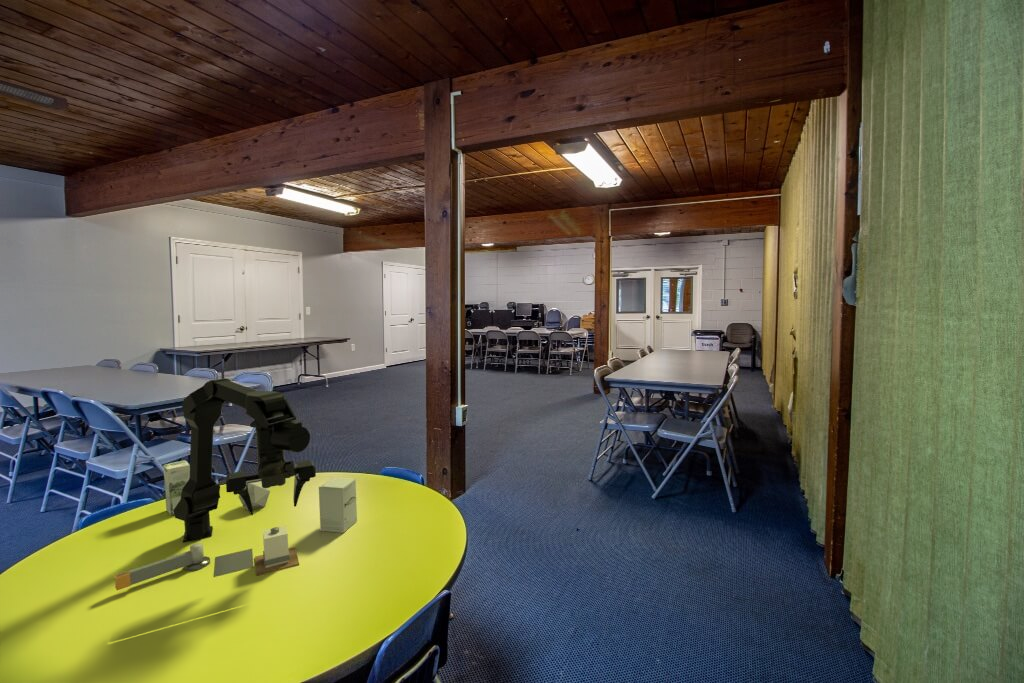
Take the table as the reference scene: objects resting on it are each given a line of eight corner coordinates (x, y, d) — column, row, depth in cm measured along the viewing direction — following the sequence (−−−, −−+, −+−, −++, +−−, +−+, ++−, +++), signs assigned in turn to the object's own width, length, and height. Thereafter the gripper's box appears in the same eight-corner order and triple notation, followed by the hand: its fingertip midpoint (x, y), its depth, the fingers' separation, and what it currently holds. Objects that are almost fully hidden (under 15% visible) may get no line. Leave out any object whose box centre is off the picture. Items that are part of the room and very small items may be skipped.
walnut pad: (255, 558, 118) (255, 556, 118) (295, 549, 123) (295, 546, 123) (256, 577, 110) (256, 574, 110) (299, 565, 115) (299, 563, 115)
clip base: (186, 564, 116) (186, 560, 116) (210, 558, 119) (210, 554, 119) (184, 574, 112) (184, 569, 112) (209, 568, 114) (209, 563, 114)
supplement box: (344, 533, 131) (342, 488, 130) (319, 531, 132) (317, 486, 131) (358, 521, 138) (356, 478, 137) (334, 519, 139) (332, 476, 138)
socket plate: (215, 558, 119) (215, 557, 119) (252, 549, 123) (252, 548, 123) (213, 578, 110) (213, 576, 110) (253, 568, 114) (253, 567, 114)
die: (232, 510, 148) (230, 492, 142) (250, 487, 155) (249, 468, 149) (259, 520, 148) (258, 501, 142) (276, 496, 155) (276, 477, 149)
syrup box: (188, 504, 151) (185, 459, 150) (193, 510, 147) (189, 463, 145) (166, 510, 147) (162, 463, 145) (170, 516, 143) (167, 468, 141)
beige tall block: (263, 558, 117) (261, 527, 117) (287, 552, 120) (286, 521, 120) (264, 568, 113) (262, 536, 112) (290, 562, 116) (288, 530, 115)
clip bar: (202, 556, 117) (201, 541, 117) (205, 560, 115) (204, 545, 115) (115, 586, 105) (113, 570, 105) (117, 591, 103) (115, 574, 103)
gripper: (223, 463, 103) (228, 534, 104) (317, 448, 112) (320, 514, 113) (224, 449, 112) (228, 514, 114) (311, 437, 121) (314, 497, 123)
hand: (274, 510), depth 115 cm, fingers open, 9 cm apart
